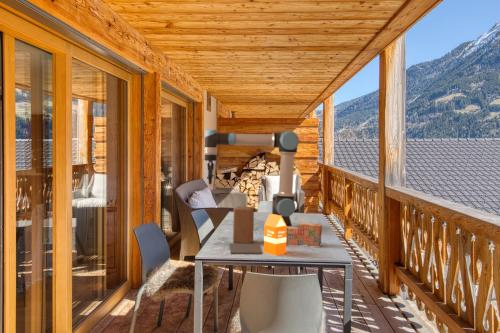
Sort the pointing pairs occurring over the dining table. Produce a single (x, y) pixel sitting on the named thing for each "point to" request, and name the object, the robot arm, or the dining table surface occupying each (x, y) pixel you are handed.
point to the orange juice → (275, 235)
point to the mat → (245, 248)
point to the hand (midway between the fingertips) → (210, 188)
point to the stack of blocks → (304, 234)
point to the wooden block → (243, 225)
